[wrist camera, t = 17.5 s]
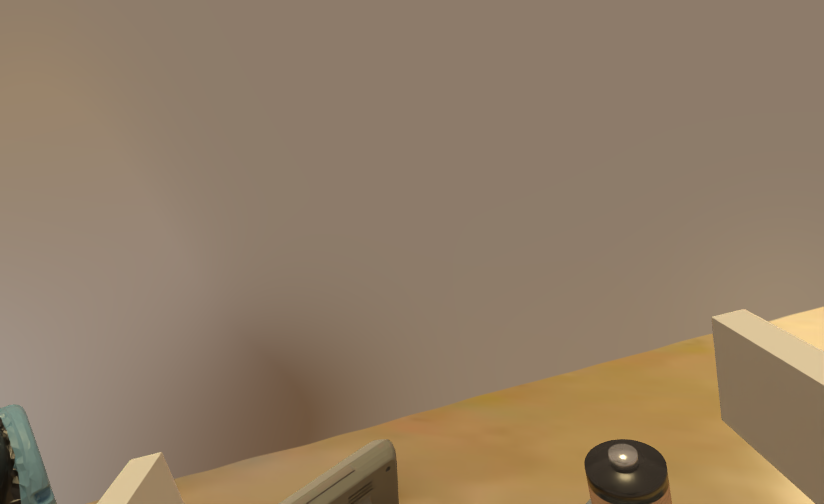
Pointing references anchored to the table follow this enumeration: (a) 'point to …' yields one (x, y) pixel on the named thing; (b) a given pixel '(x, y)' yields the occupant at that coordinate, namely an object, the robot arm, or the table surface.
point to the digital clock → (355, 479)
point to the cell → (627, 474)
